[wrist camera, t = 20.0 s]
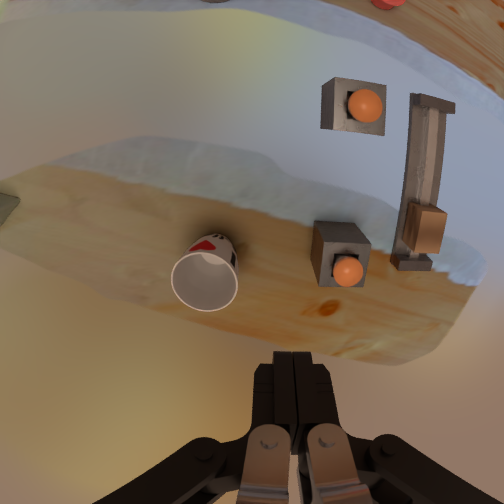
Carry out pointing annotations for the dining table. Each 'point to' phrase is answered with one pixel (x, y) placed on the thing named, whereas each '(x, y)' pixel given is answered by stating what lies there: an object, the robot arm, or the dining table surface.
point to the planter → (7, 206)
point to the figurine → (387, 3)
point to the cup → (207, 274)
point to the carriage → (424, 228)
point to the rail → (421, 171)
